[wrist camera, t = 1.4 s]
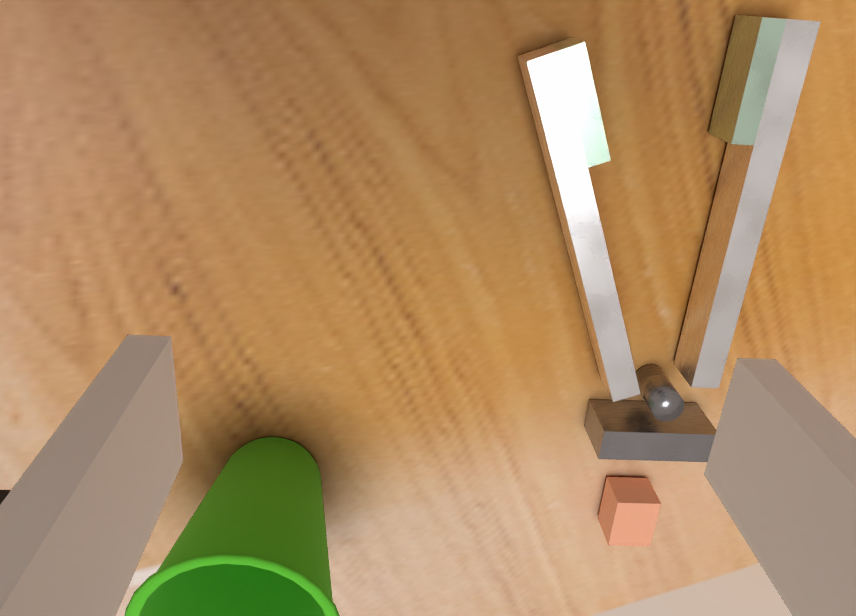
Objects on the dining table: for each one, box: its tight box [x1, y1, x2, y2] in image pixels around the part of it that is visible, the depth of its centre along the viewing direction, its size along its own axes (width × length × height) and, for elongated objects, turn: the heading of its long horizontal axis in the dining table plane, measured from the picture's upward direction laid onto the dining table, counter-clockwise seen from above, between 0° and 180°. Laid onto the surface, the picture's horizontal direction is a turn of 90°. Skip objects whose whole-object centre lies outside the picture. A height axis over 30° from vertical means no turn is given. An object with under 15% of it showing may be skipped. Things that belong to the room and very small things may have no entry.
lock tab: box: [598, 477, 661, 546], centre depth 40 cm, size 3×2×2 cm
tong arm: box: [517, 38, 640, 402], centre depth 33 cm, size 17×2×2 cm, turn 18°
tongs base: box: [584, 15, 820, 462], centre depth 33 cm, size 21×6×3 cm, turn 176°
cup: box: [125, 437, 339, 616], centre depth 34 cm, size 9×9×11 cm
